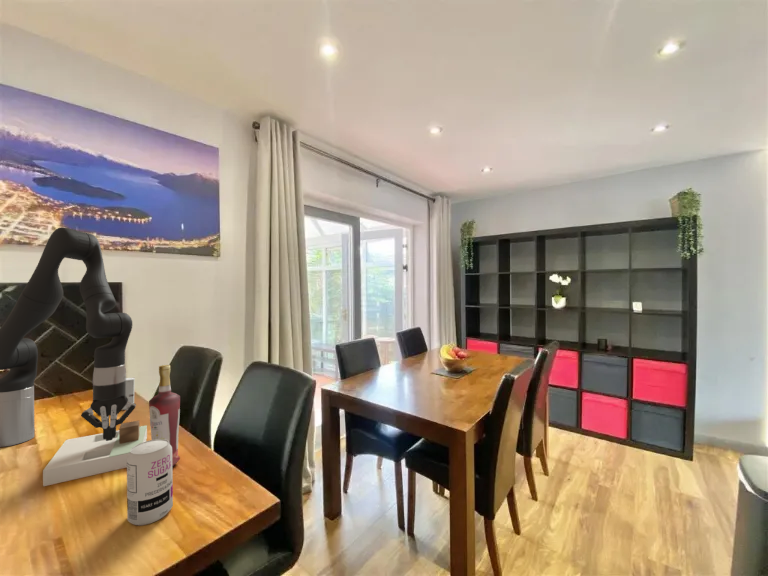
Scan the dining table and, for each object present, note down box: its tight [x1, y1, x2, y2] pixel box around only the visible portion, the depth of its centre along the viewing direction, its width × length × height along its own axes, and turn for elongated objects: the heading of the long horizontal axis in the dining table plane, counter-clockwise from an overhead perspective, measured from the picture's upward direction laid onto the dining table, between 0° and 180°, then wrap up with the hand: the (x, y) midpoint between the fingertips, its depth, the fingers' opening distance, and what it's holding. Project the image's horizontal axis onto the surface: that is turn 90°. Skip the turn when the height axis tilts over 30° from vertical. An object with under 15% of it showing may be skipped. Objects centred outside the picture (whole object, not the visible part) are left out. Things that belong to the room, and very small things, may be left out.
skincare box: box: [121, 377, 135, 411], centre depth 139 cm, size 6×4×12 cm
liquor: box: [148, 364, 181, 468], centre depth 93 cm, size 7×7×28 cm
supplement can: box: [126, 439, 174, 526], centre depth 74 cm, size 8×8×15 cm
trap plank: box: [42, 425, 148, 487], centre depth 98 cm, size 20×20×4 cm
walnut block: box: [118, 420, 140, 444], centre depth 102 cm, size 4×4×4 cm
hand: (109, 439), depth 99 cm, fingers closed
